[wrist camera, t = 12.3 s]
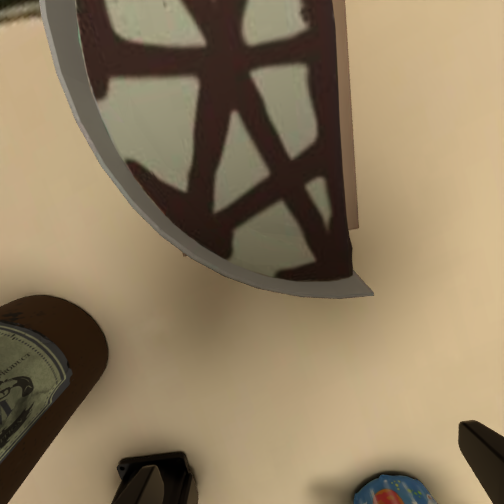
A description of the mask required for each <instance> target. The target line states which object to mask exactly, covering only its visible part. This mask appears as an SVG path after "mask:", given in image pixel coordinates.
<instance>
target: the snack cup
mask: <svg viewBox="0 0 504 504" xmlns="http://www.w3.org/2000/svg"><path fill="white" fill-rule="evenodd" d="M354 504H438V503H437V502H436V501H435V500H434V499H433V497H432V496H431V494H430V493H429V492H428V490H427V489H426V488H425V487H424V485H423V484H422V483H421V482H420V481H418V480H417V479H416V480H414V479H412V478H410V477H408V476H401V475H397V476H390V475H380V477H379V478H377V479H374V480H372V481H371V482H369V483H367V484H366V485H365V486H364V487H363V488H362V489H361V490H360V491H359V492H358V493H355V496H354Z"/></svg>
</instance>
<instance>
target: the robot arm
mask: <svg viewBox="0 0 504 504" xmlns="http://www.w3.org/2000/svg"><path fill="white" fill-rule="evenodd" d="M458 444H459V448H460V450H461V452H462V454H463V456H464V457H465V459H466V460H467V462H468V464H469V465H470V467H471V469H472V470H473V472H474V473H475V475H476V477H477V478H478V480H479V482H480V483H481V485H482V486H483V488H484V490H485V491H486V493H487V494H488V496H489V498H490V499H491V501H492V503H493V504H504V437H503V436H502V435H500V434H498V433H497V432H495V431H493V430H491V429H490V428H488V427H486V426H485V425H483V424H481V423H480V422H478V421H475V420H469V421H462V422H460V423H459V435H458ZM117 470H118V473H119V475H120V478H121V480H122V481H121V483H120V485H119V487H118V490H117V492H116V494H115V496H114V499H113V501H112V503H111V504H198V491H197V487H196V484H195V481H194V477H193V475H192V474H191V472H190V469H189V466H188V462H187V459H186V456H185V455H184V454H182V453H176V454H168V455H160V456H151V457H143V458H135V459H127V460H121V461H120V462H119V464H118V466H117Z"/></svg>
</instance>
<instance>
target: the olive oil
mask: <svg viewBox="0 0 504 504" xmlns="http://www.w3.org/2000/svg"><path fill="white" fill-rule="evenodd" d="M106 363H107V345H106V342H105V339H104V336H103V334H102V332H101V330H100V329H99V327H98V326H97V324H96V323H95V322H94V321H93V319H92V318H91V317H90V316H89V315H87V314H86V313H85V312H84V311H83V310H81V309H80V308H78V307H77V306H75V305H73V304H71V303H69V302H67V301H64V300H62V299H59V298H55V297H50V296H29V297H24V298H20V299H17V300H15V301H12V302H10V303H8V304H5V305H3V306H1V307H0V504H7V503H8V502H9V501H10V499H11V498H12V497H13V495H14V494H15V492H16V491H17V490H18V488H19V487H20V486H21V484H22V483H23V481H24V480H25V479H26V477H27V476H28V475H29V473H30V472H31V470H32V469H33V468H34V466H35V465H36V463H37V462H38V461H39V459H40V458H41V457H42V455H43V454H44V452H45V451H46V450H47V448H48V447H49V446H50V444H51V443H52V441H53V440H54V439H55V437H56V436H57V435H58V433H59V432H60V431H61V429H62V428H63V427H64V425H65V424H66V423H67V421H68V420H69V419H70V417H71V416H72V415H73V413H74V412H75V411H76V409H77V408H78V407H79V405H80V404H81V403H82V401H83V400H84V399H85V397H86V396H87V395H88V393H89V392H90V391H91V389H92V388H93V387H94V385H95V384H96V383H97V381H98V380H99V378H100V377H101V375H102V374H103V372H104V369H105V367H106Z"/></svg>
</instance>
